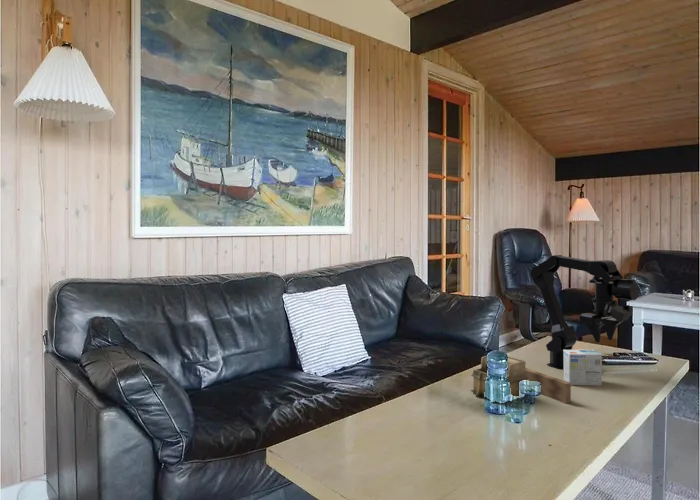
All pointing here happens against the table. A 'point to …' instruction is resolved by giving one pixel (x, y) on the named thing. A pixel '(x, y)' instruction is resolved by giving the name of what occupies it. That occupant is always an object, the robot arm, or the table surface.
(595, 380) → the light bulb box
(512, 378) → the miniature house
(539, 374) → the wall
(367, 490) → the table surface
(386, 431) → the table surface
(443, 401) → the table surface
